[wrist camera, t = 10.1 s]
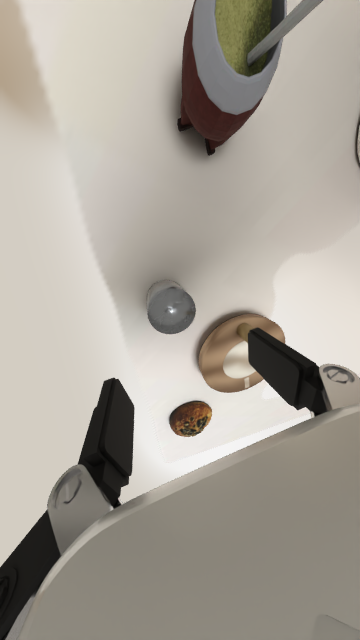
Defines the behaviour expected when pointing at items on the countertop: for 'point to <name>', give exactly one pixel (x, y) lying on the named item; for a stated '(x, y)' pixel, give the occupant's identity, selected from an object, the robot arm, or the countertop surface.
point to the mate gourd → (231, 62)
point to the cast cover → (169, 307)
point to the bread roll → (190, 419)
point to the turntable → (233, 353)
